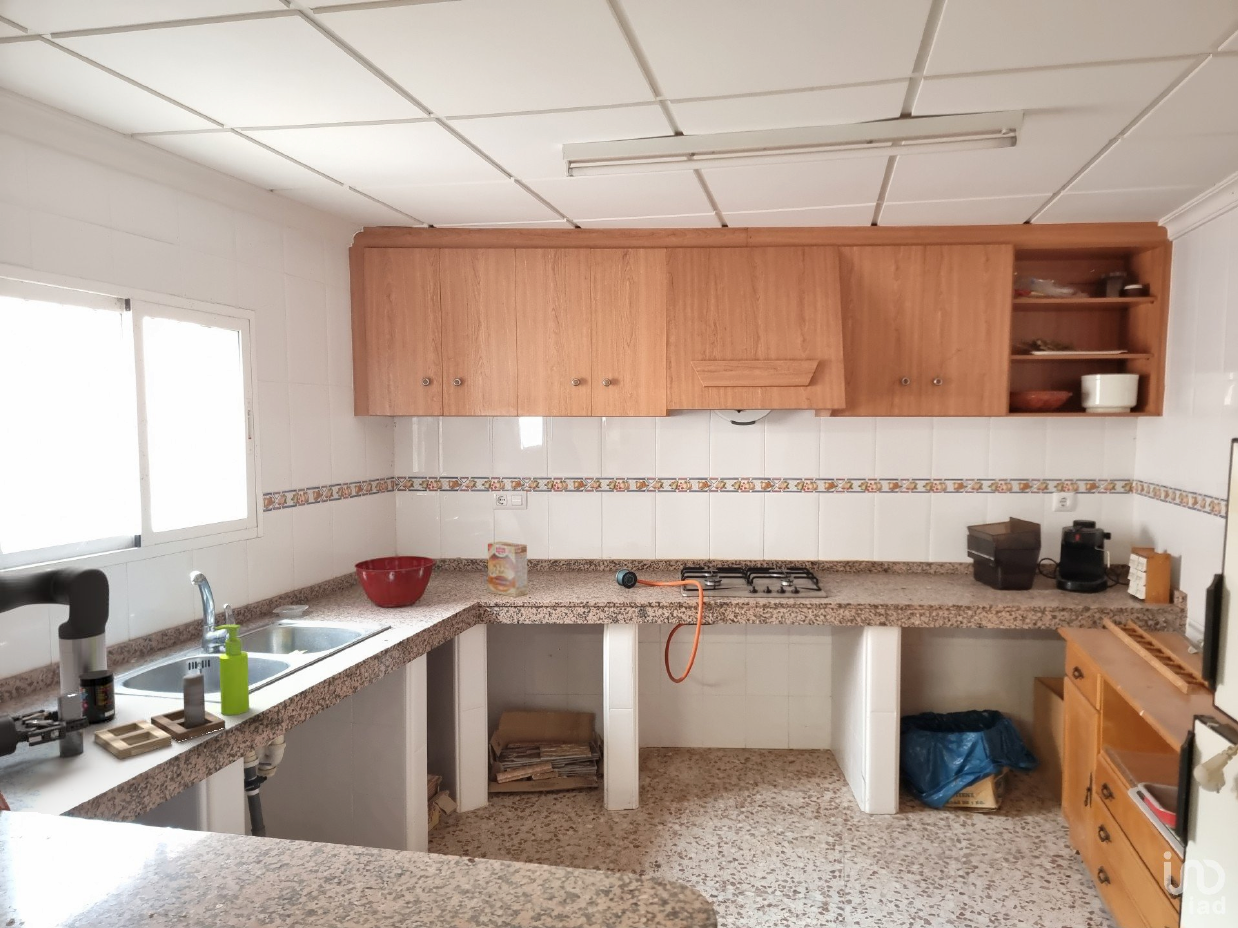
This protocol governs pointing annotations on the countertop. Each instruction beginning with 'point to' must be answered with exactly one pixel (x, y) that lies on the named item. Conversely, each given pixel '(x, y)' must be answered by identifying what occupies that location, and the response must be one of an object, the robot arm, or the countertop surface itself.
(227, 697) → the soap dispenser
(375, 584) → the mixing bowl
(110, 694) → the supplement container
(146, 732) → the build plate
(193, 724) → the pattern plate
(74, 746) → the pin
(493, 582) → the coffeecake box
